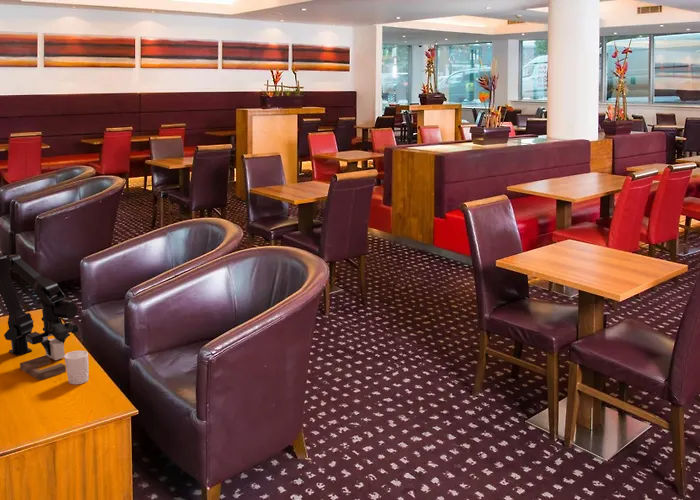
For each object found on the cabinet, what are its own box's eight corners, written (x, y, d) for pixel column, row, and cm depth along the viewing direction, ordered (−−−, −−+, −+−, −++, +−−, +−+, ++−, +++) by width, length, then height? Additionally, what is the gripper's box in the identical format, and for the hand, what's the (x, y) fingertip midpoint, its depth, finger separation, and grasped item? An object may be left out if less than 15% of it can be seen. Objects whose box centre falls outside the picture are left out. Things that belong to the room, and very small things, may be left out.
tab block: (45, 355, 280) (44, 341, 278) (55, 352, 283) (54, 338, 281) (55, 360, 275) (53, 345, 274) (64, 357, 278) (63, 342, 277)
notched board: (20, 369, 268) (19, 363, 268) (46, 361, 276) (45, 355, 275) (39, 380, 259) (38, 373, 259) (66, 371, 267) (65, 365, 266)
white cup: (75, 387, 254) (72, 360, 251) (62, 381, 258) (59, 355, 256) (95, 379, 260) (92, 353, 257) (82, 374, 265) (79, 348, 262)
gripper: (37, 326, 263) (41, 366, 267) (84, 313, 277) (88, 352, 281) (22, 319, 270) (27, 359, 274) (69, 307, 284) (73, 344, 288)
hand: (55, 353), depth 279 cm, fingers closed on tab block, 4 cm apart
